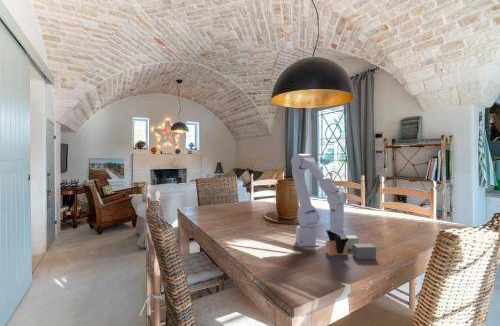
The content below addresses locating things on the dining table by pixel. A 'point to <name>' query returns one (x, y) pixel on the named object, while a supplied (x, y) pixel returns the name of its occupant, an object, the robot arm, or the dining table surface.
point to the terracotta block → (332, 248)
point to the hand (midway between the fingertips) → (336, 249)
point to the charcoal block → (364, 251)
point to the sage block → (352, 241)
